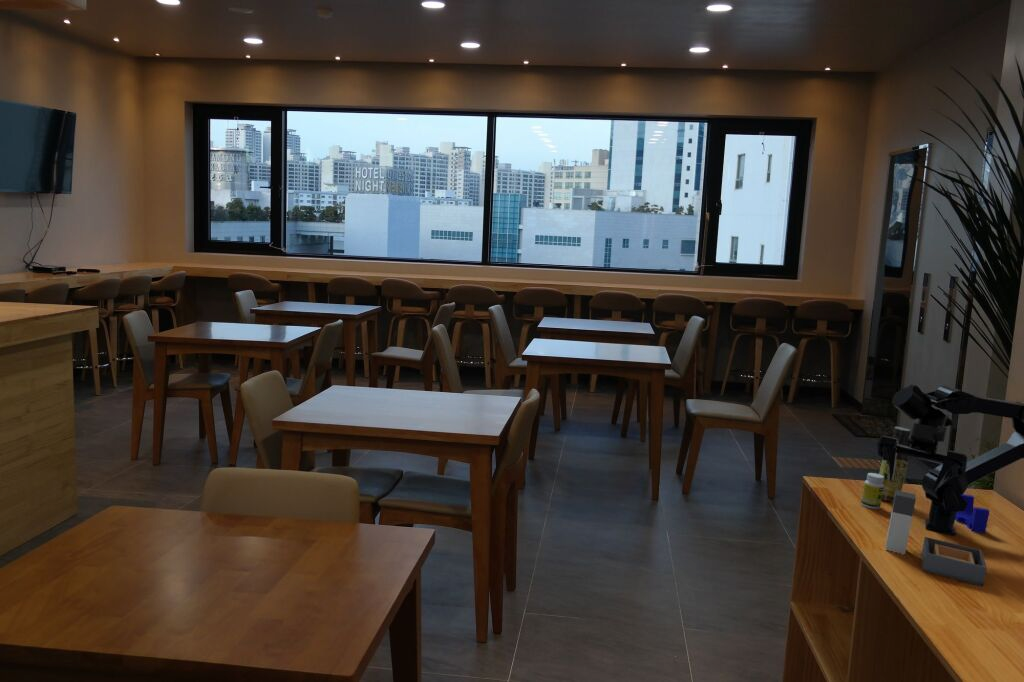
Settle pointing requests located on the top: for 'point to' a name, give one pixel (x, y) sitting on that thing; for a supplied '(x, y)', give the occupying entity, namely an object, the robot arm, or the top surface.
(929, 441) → the robot arm
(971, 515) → the cable clip
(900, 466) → the sauce bottle
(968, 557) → the walled box
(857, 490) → the top surface
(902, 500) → the plug
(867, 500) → the supplement bottle
